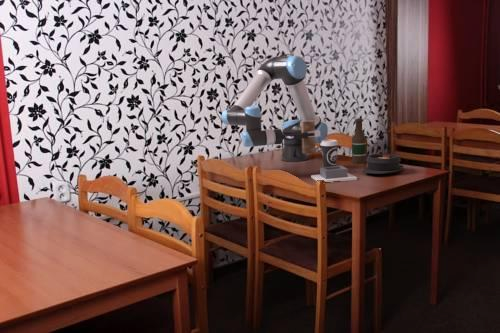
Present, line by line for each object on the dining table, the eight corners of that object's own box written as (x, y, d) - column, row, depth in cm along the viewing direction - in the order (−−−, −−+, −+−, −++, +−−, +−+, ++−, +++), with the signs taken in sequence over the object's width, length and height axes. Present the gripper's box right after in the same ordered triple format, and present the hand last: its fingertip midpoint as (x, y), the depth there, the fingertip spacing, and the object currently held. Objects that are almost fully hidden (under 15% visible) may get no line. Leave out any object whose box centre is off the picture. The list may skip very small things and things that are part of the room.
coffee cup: (338, 166, 290) (338, 139, 287) (339, 170, 281) (339, 141, 278) (320, 167, 291) (319, 139, 288) (321, 171, 282) (320, 142, 279)
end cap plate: (321, 183, 254) (320, 172, 253) (311, 177, 268) (310, 167, 267) (356, 179, 258) (356, 169, 257) (345, 174, 271) (345, 163, 270)
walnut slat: (304, 154, 271) (303, 122, 268) (302, 153, 274) (301, 121, 271) (315, 152, 272) (314, 121, 269) (313, 151, 275) (312, 120, 272)
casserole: (380, 166, 287) (380, 150, 285) (412, 170, 274) (413, 153, 272) (353, 174, 270) (353, 158, 268) (386, 179, 256) (386, 161, 255)
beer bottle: (358, 164, 294) (357, 120, 289) (349, 162, 301) (348, 119, 296) (369, 162, 297) (369, 118, 293) (360, 160, 304) (359, 117, 300)
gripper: (269, 142, 276) (313, 138, 281) (278, 146, 261) (324, 142, 265) (269, 127, 274) (313, 123, 279) (277, 131, 259) (324, 127, 264)
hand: (318, 133), depth 272 cm, fingers closed on walnut slat, 3 cm apart
